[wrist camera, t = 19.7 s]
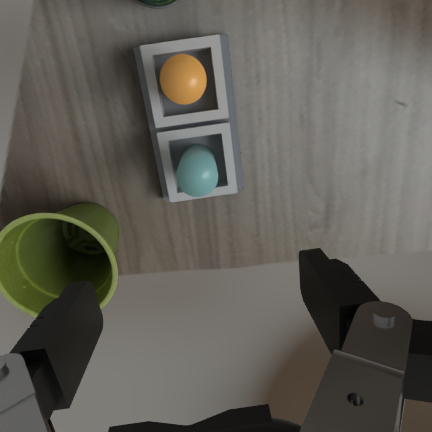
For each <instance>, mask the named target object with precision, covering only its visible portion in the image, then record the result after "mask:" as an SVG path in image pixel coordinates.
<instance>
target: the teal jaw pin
mask: <svg viewBox="0 0 432 432" xmlns="http://www.w3.org/2000/svg"><path fill="white" fill-rule="evenodd" d="M176 180H177V183H178V186H179V187H180V189H181V190H182V191H183V192H184V193H186V194H187V195H189V196H192V197H202V196H205V195H208V194H209V193H211V192H212V191H213V190H214V188H215V187H216V185H217V182H218V171H217V166H216V162H215V157H214V154H213V152H212V151H211V150H210V149H209V148H208V147H207V146H205V145H202V144H194V145H191V146H189V147H188V148H187V149H186V150H185V151H184V152H183V154H182V157H181V160H180V163H179V166H178V169H177V173H176Z"/></svg>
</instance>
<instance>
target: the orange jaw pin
mask: <svg viewBox="0 0 432 432" xmlns="http://www.w3.org/2000/svg"><path fill="white" fill-rule="evenodd" d="M206 83H207V78H206V73H205V70H204V68H203V66H202V64H201V63H200V62H199V61H198V60H197V59H196V58H194V57H193V56H190V55H187V54H178V55H175V56H172V57H171V58H169V59H168V60H167V61H166V62H165V63H164V65H163V67H162V69H161V73H160V84H161V88H162V90H163V92H164V94H165V95H166V96H167V97H168V98H169V99H170V100H171V101H173V102H175V103H177V104H183V105H185V104H191V103H194V102H196V101H197V100H198V99H199V98H200V97H201V96H202V94H203V93H204V91H205V88H206Z"/></svg>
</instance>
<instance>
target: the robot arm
mask: <svg viewBox="0 0 432 432" xmlns="http://www.w3.org/2000/svg"><path fill="white" fill-rule="evenodd" d="M299 272H300V289H301V294H302V298H303V301H304V303H305V305H306V307H307V309H308V311H309V313H310V315H311V317H312V318H313V320H314V322H315V324H316V326H317V328H318V330H319V332H320V334H321V336H322V338H323V339H324V342H325V344H326V345H327V347H328V349H329V351H330V353H331V358H330V360H329V362H328V365H327V367H326V369H325V372H324V374H323V376H322V379H321V381H320V384H319V386H318V389H317V391H316V393H315V396H314V398H313V400H312V403H311V406H310V408H309V410H308V413H307V415H306V417H305V420H304V422H303V424H302V426H300V425H298V424H295V423H293V422H290V421H286V420H282V419H277V418H271V414H270V410H269V405H268V404H265V405H258V406H251V407H245V408H237V409H230V410H227V411H225V412H222V413H220V414H217V415H215V416H212V417H210V418H207V419H205V420H202V421H200V422H197V423H195V424H193V425H188V426H185V425H176V424H167V423H159V422H150V421H147V422H140V423H133V424H127V425H120V426H113V427H110V428H109V431H108V432H400V430H401V424H402V417H403V410H404V403H405V399H411V400H417V401H424V402H431V403H432V321H422V320H415V319H412V318H411V316H410V314H409V313H408V312H407V311H405V310H404V309H403V308H401V307H399V306H397V305H394V304H391V303H388V302H382V301H380V300H379V299H378V297H377V296H376V295H375V294H374V293H373V292H372V291H371V290H370V289H369V288H368V286H367V285H366V284H365V283H364V282H363V281H361V279H360V278H359V277H358V275H357V274H355V272H354V271H353V270H352V269H351V268H350V267H349V265H348V264H345V263H343V262H342V261H340V260H338V259H330V260H329V258H328V257H327V256H326V255H325V254H324V252H323V251H322V250H321V249H320V248H316V249H309V250H302V251H300V252H299ZM102 329H103V316H102V312H101V309H100V305H99V302H98V299H97V296H96V293H95V289H94V286H93V284H92V282H91V281H83V282H76V283H70V284H68V285H67V286H66V288H65V289H64V290H63V292H62V293H61V295H60V296H59V297H58V298H55V299H54V300H53V301H52V302H50V303H49V304H48V305H46V306H45V307H44V308H43V309H42V310H41V312H40V313H39V314H38V316H37V317H36V320H34V321H33V322H32V324H31V325H30V328H28V329H27V331H26V332H25V333H24V334H23V336H22V337H21V338H20V340H19V341H18V342H17V344H16V345H15V346H14V348H13V349H12V350H11V352H10V353H9V354H5V355H2V356H0V432H55V429H54V427H53V424H52V422H51V420H50V417H51V415H52V413H53V410H59V409H66V408H70V405H71V403H72V401H73V398H74V396H75V394H76V391H77V389H78V386H79V384H80V382H81V379H82V377H83V374H84V372H85V370H86V368H87V365H88V363H89V360H90V358H91V356H92V353H93V351H94V349H95V346H96V344H97V341H98V339H99V337H100V334H101V332H102Z"/></svg>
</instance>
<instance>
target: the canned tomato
mask: <svg viewBox="0 0 432 432" xmlns="http://www.w3.org/2000/svg"><path fill="white" fill-rule="evenodd" d="M136 1H138V2H139V3H141V4H143V5H145V6H147V7H152V8H165V7H169V6H171V5H173V4H175V3H177V2H178V1H179V0H136Z"/></svg>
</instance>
